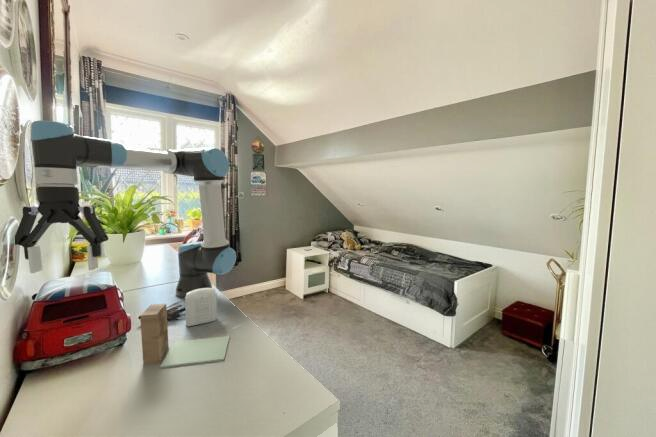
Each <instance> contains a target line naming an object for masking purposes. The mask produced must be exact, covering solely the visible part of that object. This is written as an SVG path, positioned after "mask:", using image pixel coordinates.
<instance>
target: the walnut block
mask: <svg viewBox="0 0 656 437" xmlns="http://www.w3.org/2000/svg"><path fill="white" fill-rule="evenodd" d="M166 308H167V303H159V304H158V303H157V304H156V303H155V304H150V305H149V306H148V307H147V308H146V309H145V310H144V311H142V313H141V314H140V315H139V316H140V319H139V320H141V321H140V333H141V349H142V350H141V352H142V361H143V362H142V363H143V364H142V365H143V366H145V365H154V364H155V365H156V364H161V361H162V360H163V358H164V357H165V355H167V354H166V353H168V350H170V349H169V331H168V330H169V328H168V321H167V310H168V308H167V309H166Z"/></svg>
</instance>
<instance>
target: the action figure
mask: <svg viewBox="0 0 656 437" xmlns="http://www.w3.org/2000/svg"><path fill="white" fill-rule="evenodd" d="M179 303H180V301H177V302H175V303H173V304H170V305H169V306H166V309H167V322H172V321H173V322H174V321H180V319H179V318H182V317H186V314H185V306H184V307H182V306H183V304H182V303H181V304H182V305H181V304H179ZM181 307H182V308H181ZM137 318H138V319H139V320H140V315H139V316H137ZM140 322H141V320H140Z"/></svg>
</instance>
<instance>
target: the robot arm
mask: <svg viewBox="0 0 656 437" xmlns="http://www.w3.org/2000/svg"><path fill="white" fill-rule="evenodd" d="M30 141H31V142H30V143H31V149H32V156H33V157H32V158H33V168H34V176H35V184H36V185H39V186H37V187H36V188H35V189H36V200H37V201H38V203H39V204H38V206H35V205H28V206H23V207H22V217H21V218H20V219H21V220H20V221H19V225H18V227H17V230H16V232H15V234H14V237H15V245H14V246H17V245H18V246H22V247H23V251H24V253H23V254H24V258H25V260H28V266H29V274H35V273H37V272H41V271H43V263H42V262H43V261H42V252H41V245H40V244H39V245H38V242H39V241H40V239H41V238H42V236H43V235H44V234H45V233H46V231H47V230H48V229H49V228H50V226H51V225H53V224H57V223H60V224H69V225H70V226H73V228H74V229H75V230H76V231H77V232H78V233H79V234H80V235H81V236H82V238H84V239H85V240H86V241H87V242H88V243H89V244H88V245H86V253H87V255H86V256H87V265H88V271H93V270H96V269H98V268H99V259H98V257H100V256H101V254H102V252H101V249H102V248H101V244H102V243H104V242H107V241H108V240H109V236H108V235H107V233H106V231H105V229H104V228H103V225H102V224H101V222H100V220H99V219H98V216H97V215H96V209H95V207H94V205H86V206H81V204H80V203H79V202H80V192H79V191H80V189H79V188H78V187H77V185H78V184H79V181H78V168H97V169H98V168H100V169H101V168H102V169H119V170H121V169H122V170H138V171H139V170H140V171H141V170H142V171H161V172H163V173H165V174H170V175H179V176H185V177H186V176H187V177H193V181H194V183H196V184H197V185H198V191H199V204H200V211H201V222H202V224H201V225H202V232H203V233H202V234H203V241H194V242H187V243H183V244H181V245H179V247H178V250H177V252H178V253H177V257H178V273H179V276H178V281H177V283H176V288H175V296H177V297H178V298H185V297H186V293H188V292H190V291H193V290H196V289H200V288H213V284H212V281H211V279H210V277H209V274H214V275H226V274H228V273H229V272H230V271H231V270H232V269H233V268H234V266H235V264H236V261H237V253H236V251H235V249H233V248H232V247H230V246H231V245H230V241H229V240H228V239H226V233H225V231H226V230H225V222H224V221H225V219H224V208H223V197H222V195H223V194H222V183H224V181H225V176H226V175H227V174H228V173H229V172H228V171H229V170H230V161H229V159H228V156H227V155H226V153H224V152H223V151H222V150H221V149H220V148H217V147H209V146H208V147H198V148H185V149H184V148H183V149H163V151H161V150H160V151H159V150H153V149H151V150H150V149H143V148H135V147H127V146H125V145H124V144H123V142H120V141H117V140H111V139H110V138H109V139H108V138H107V139H105V138H98V137H91V136H85V135H80V134H77V133H76V132H75V129H74V127H73V126H72V125H70V124H68V123H64V122H59V121H54V120H53V121H52V120H43V119H42V120H41V119H40V120H34V121H33V122H32V123H31V124H30ZM80 213H81V214H82V215H83V216H84V219H85V221H86V222H87V223H85V222H84V219H83V218H82V217H81V216H80V215H79V214H80ZM38 214H40V215H41V217H40V218H39V220H38V221H37V224H36V225H35V222H36V219H37V215H38ZM87 224H88V225H89V226H88V225H87ZM34 225H35V226H34ZM208 273H209V274H208Z"/></svg>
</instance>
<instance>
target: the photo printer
mask: <svg viewBox="0 0 656 437" xmlns="http://www.w3.org/2000/svg"><path fill="white" fill-rule="evenodd" d="M184 298H185V299H184V305H185V306H184V307H185V311H184V312H185V314H186V315H185V326H186V327H192V326H193V327H194V326H197V325H201V324H207V323H210V322H214V321H217V318H218V316H217V315H218V314H217V313H218V310H217V309H218V308H217V292H216V289H215V288H213V287H212V288H200V289H196V290H193V291H190V292H188V293H186V297H184Z"/></svg>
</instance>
